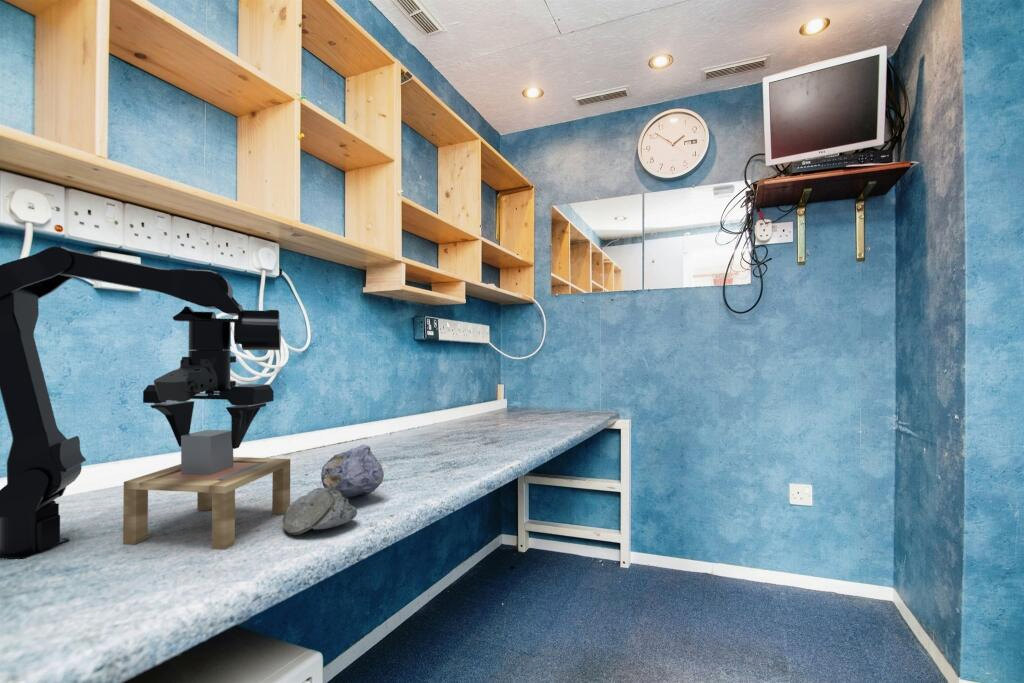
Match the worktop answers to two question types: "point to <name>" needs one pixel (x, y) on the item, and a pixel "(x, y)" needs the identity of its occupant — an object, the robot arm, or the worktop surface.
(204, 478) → the trapdoor
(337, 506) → the fossilized seashell
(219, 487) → the trapdoor frame
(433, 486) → the worktop surface
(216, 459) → the grey block
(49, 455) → the robot arm
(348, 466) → the rock
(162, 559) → the worktop surface
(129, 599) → the worktop surface
